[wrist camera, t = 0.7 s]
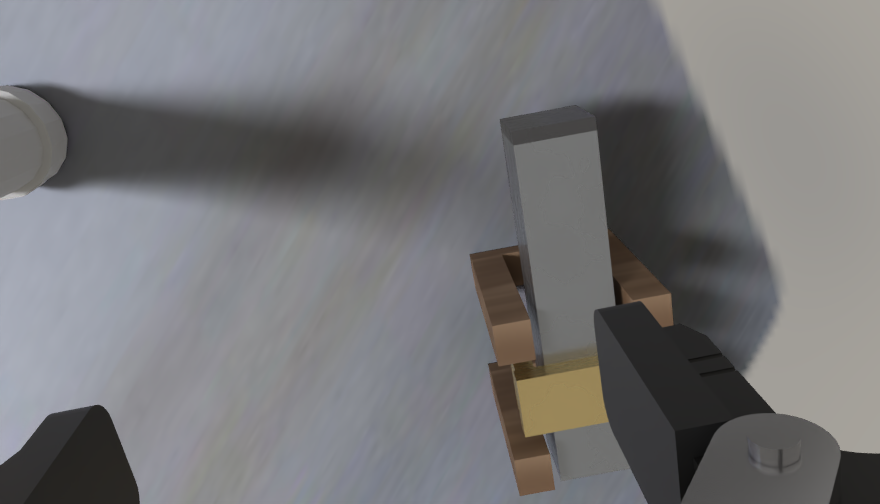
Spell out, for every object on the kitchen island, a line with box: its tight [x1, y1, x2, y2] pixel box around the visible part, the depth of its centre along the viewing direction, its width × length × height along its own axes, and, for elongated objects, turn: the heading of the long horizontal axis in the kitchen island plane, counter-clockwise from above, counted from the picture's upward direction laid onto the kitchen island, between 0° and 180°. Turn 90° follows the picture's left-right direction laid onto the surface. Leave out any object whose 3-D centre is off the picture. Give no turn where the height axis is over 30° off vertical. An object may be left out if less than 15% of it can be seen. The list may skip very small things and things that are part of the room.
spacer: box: [511, 355, 609, 437], centre depth 36 cm, size 3×7×3 cm, turn 100°
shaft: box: [500, 105, 630, 481], centre depth 36 cm, size 18×4×4 cm, turn 10°
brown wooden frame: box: [470, 229, 673, 496], centre depth 39 cm, size 9×8×10 cm
